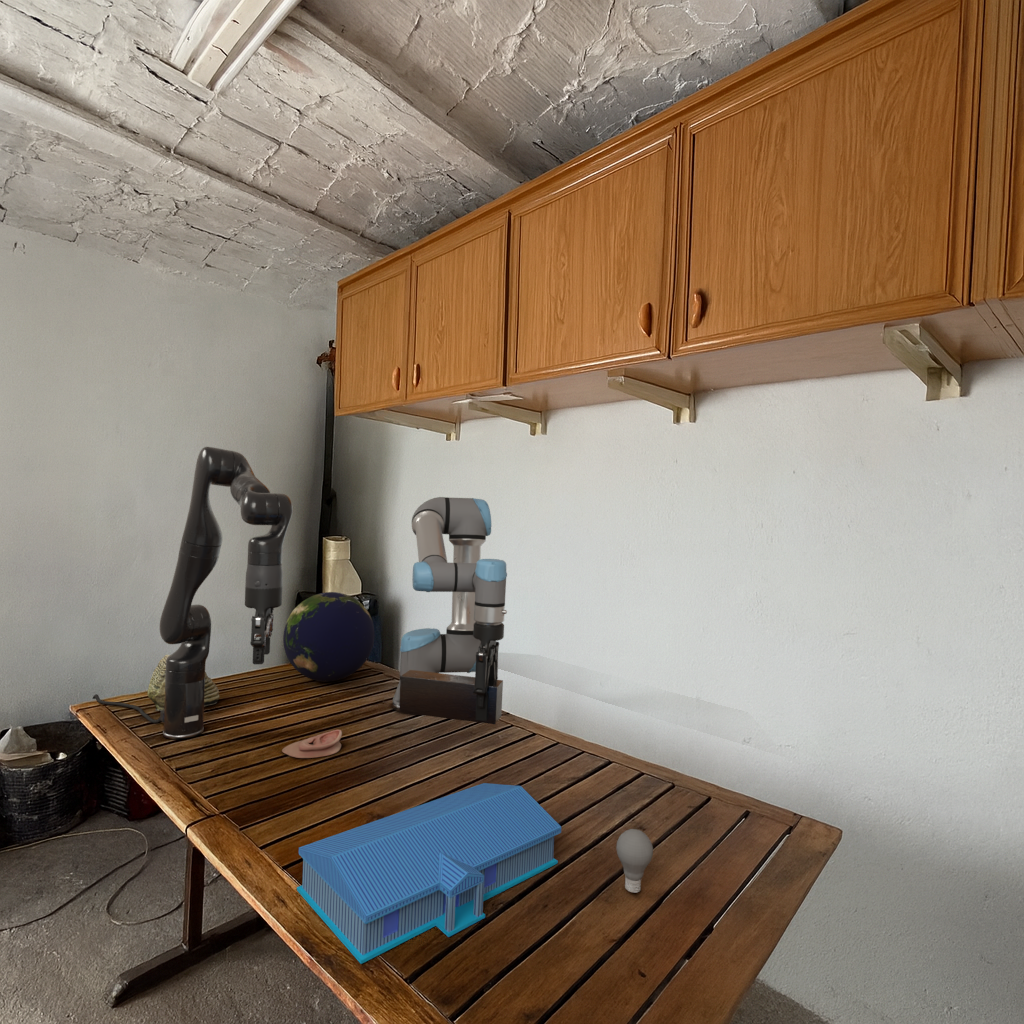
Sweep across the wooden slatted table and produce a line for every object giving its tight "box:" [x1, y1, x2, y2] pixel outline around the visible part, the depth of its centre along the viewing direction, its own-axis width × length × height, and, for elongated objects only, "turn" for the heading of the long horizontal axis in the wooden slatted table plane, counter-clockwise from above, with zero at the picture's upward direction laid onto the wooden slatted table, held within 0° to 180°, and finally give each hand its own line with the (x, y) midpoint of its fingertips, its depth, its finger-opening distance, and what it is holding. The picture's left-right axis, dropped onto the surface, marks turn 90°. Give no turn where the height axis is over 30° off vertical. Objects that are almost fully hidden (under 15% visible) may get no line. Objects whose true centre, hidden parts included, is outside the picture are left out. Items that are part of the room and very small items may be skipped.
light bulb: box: [615, 828, 654, 894], centre depth 106 cm, size 6×6×10 cm
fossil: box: [147, 654, 221, 712], centre depth 185 cm, size 9×18×15 cm, turn 132°
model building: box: [296, 782, 562, 965], centre depth 106 cm, size 39×24×10 cm, turn 132°
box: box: [398, 670, 504, 725], centre depth 158 cm, size 25×6×9 cm, turn 78°
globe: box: [282, 591, 375, 683], centre depth 216 cm, size 30×30×30 cm
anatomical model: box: [281, 729, 343, 759], centre depth 157 cm, size 13×4×12 cm
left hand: (261, 658), depth 138 cm, fingers open, 8 cm apart
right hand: (485, 715), depth 156 cm, fingers closed on box, 6 cm apart
